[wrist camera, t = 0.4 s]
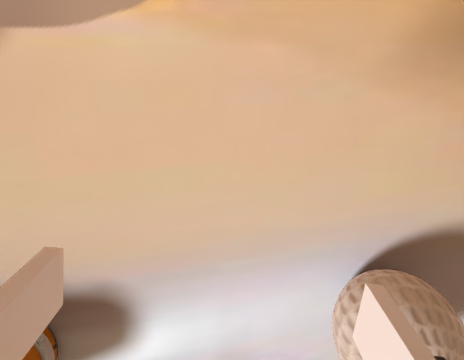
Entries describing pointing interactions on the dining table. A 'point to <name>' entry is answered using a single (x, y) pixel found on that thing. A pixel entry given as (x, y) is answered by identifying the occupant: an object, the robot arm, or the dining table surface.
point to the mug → (43, 347)
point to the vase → (412, 306)
